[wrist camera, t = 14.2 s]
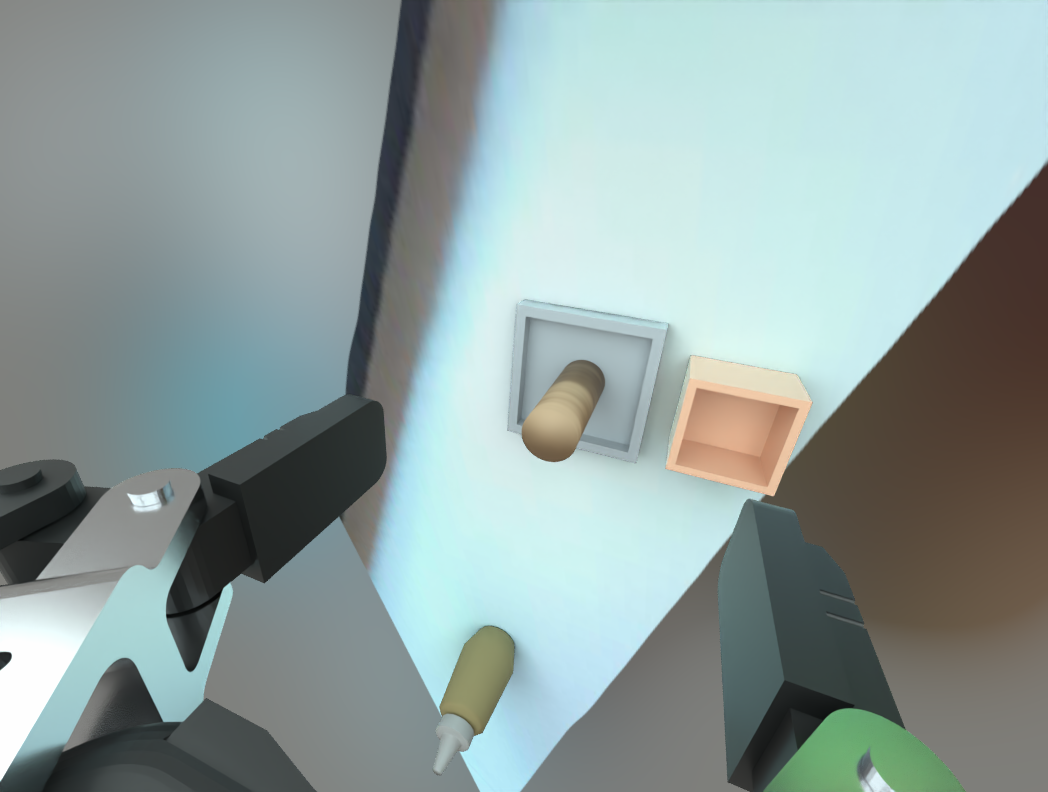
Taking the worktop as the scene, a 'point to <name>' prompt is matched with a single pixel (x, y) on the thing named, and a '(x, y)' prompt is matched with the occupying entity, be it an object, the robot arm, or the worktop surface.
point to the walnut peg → (564, 412)
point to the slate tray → (599, 338)
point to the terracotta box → (736, 424)
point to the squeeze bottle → (473, 691)
